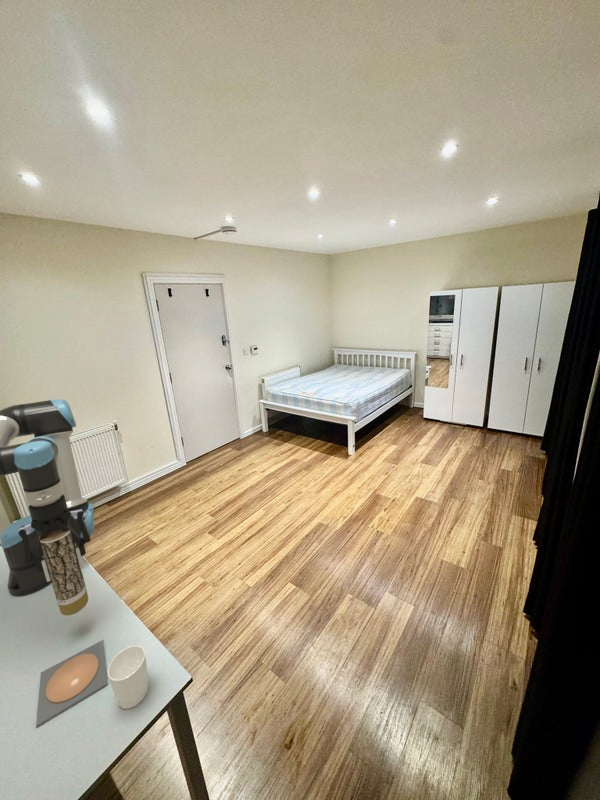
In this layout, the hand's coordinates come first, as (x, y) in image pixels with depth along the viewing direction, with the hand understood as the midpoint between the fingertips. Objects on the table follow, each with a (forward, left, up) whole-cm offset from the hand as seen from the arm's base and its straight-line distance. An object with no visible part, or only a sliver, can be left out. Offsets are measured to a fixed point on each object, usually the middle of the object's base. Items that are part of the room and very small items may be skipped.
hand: (65, 571), depth 86 cm
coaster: (+14, -2, -22) cm, 26 cm away
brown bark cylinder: (0, 0, -12) cm, 12 cm away
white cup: (+27, +10, -22) cm, 36 cm away
